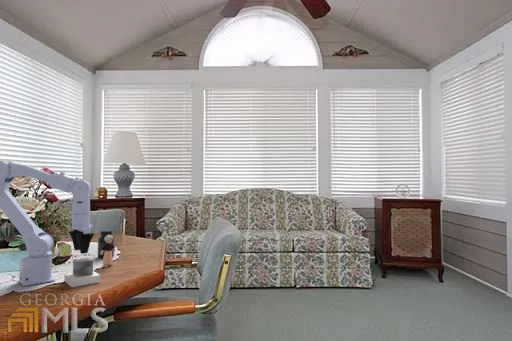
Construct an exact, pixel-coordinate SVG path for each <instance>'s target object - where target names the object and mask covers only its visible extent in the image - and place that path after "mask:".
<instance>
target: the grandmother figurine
mask: <svg viewBox="0 0 512 341" xmlns="http://www.w3.org/2000/svg"><path fill="white" fill-rule="evenodd" d="M112 236H113V235H107V236H106V237H105V238H104V239H105V241H106V244H105V245H104V246H103V248H102V249H101V253H100V255H102V254H103V252H104V251H105V253H104V257H103V258H102V265H101V267H102V268H108V267H112V266H113V261H114V260H113V257H112V249H113V251H114V252H115V251H116V247H115V244H114V245H113V244H111V242H112V239H113V237H114V236H113V237H112Z"/></svg>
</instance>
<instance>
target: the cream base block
mask: <svg viewBox="0 0 512 341" xmlns="http://www.w3.org/2000/svg"><path fill="white" fill-rule="evenodd" d="M63 281H64V283H66V284H67V285H68V286H69V287H71V288H75V287H76V288H77V287H81V286H85V285H92V284H99V283H101V274H99V273H98V272H96V271H94V270H93V275H88V276H82V277H76V276H75V275H74V274H73V272H68V273H64V280H63Z"/></svg>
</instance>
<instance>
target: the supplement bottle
mask: <svg viewBox="0 0 512 341" xmlns="http://www.w3.org/2000/svg"><path fill="white" fill-rule="evenodd" d="M107 235H111V236H112V237H113V239H112V242H111V244H113V245H114V246H115V237H114V236H113V230H110V229H105V230H101V231H100V234H99V237H98V238H97V258H98V259H103V257H104V253H105V251H104V252H103V254H102V255H100V253H101V249H102V248H103V246H104V245H105V244H106V241H105V239H104V238H105V237H106V236H107ZM114 252H115V251H113V249H112V258H114V256H115V255H114V254H115V253H114Z"/></svg>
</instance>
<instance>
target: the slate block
mask: <svg viewBox="0 0 512 341" xmlns="http://www.w3.org/2000/svg"><path fill="white" fill-rule="evenodd" d="M72 266H73V267H72V273H73V274H74V275H75V276H76V277H82V276H88V275H93V271H94V260H93V259H92V258H90V257H84V258H76V259H73V263H72Z"/></svg>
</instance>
